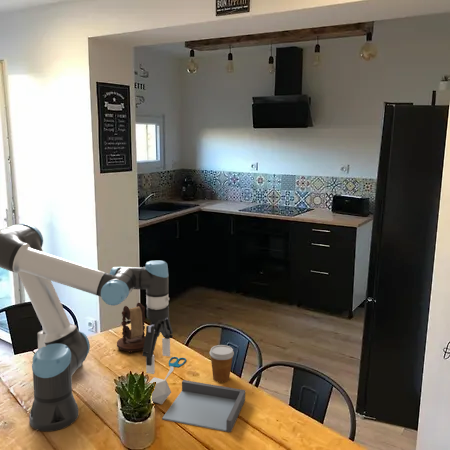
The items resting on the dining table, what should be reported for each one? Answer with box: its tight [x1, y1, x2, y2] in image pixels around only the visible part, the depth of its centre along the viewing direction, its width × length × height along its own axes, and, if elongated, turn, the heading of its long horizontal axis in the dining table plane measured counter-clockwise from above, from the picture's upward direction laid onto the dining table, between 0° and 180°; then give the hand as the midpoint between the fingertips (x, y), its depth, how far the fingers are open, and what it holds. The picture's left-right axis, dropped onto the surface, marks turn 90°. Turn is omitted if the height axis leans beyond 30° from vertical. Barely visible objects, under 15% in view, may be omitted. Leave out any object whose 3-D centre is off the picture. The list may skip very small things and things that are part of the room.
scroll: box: [116, 302, 146, 354], centre depth 204 cm, size 15×15×20 cm
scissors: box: [164, 356, 187, 381], centre depth 186 cm, size 7×1×20 cm
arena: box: [161, 379, 246, 433], centre depth 158 cm, size 20×24×4 cm
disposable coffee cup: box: [208, 344, 235, 383], centre depth 179 cm, size 10×10×12 cm
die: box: [148, 377, 172, 405], centre depth 163 cm, size 8×9×10 cm
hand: (158, 364), depth 161 cm, fingers open, 13 cm apart
